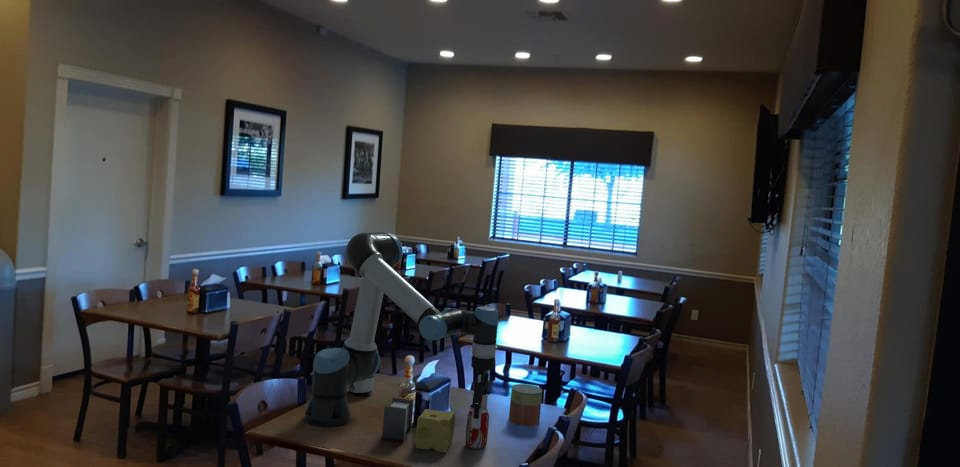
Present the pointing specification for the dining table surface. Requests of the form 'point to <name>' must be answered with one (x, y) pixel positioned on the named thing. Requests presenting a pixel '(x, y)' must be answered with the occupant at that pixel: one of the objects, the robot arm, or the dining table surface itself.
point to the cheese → (435, 430)
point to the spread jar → (362, 387)
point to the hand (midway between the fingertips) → (478, 421)
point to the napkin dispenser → (397, 420)
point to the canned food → (525, 405)
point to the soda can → (477, 430)
